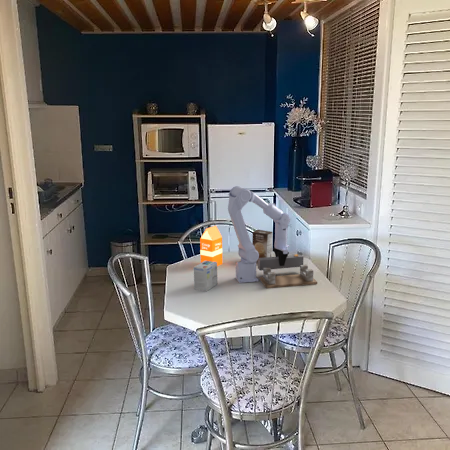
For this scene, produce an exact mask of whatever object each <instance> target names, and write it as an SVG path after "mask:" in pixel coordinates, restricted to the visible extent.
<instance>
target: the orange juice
mask: <svg viewBox="0 0 450 450" xmlns="http://www.w3.org/2000/svg"><path fill="white" fill-rule="evenodd" d="M199 242H200V243H199V244H200V245H199V247H200V250H199V252H200V254H199V255H200V263H202V262H203V261H213V262H217V267H219V266H221V265H223V236H222V234H221V232H220V230H219V228H218V227H217V225H214V226H210V227H207V228H205V230H204V232H203V233H202V235H201V237H200V238H199Z"/></svg>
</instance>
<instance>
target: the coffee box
mask: <svg viewBox="0 0 450 450" xmlns="http://www.w3.org/2000/svg"><path fill="white" fill-rule="evenodd" d="M251 243H252V244H253V245H254V247H255V249H256V250H257V251H258V253H259V258H266V257H273V231H269V230H263V229H256V230H254V231H253V232H252V241H251ZM256 263H258V260H257V261H256Z"/></svg>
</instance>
